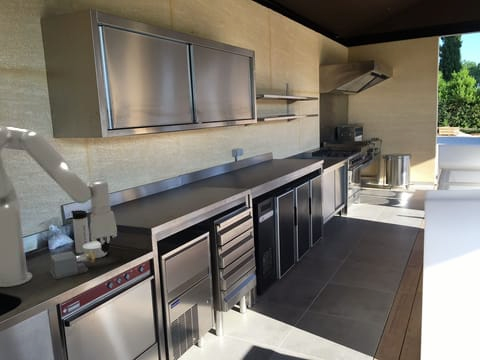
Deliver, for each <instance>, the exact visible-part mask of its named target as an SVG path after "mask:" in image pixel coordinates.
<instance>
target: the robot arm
mask: <svg viewBox="0 0 480 360" xmlns="http://www.w3.org/2000/svg"><path fill="white" fill-rule="evenodd" d="M4 149H10V150H17V151H25V152H26V153H27V154H28V155H29V156H30V157H31V158H32V159H33V160H34V161H35V162H36V163H37V165H39V166H40V167H39V168H41V169H42V170H43V171H44V172H45V173H46V174H47V176H48V177H49V178H51V179H52V180H53V181H54V182H56V184H57V185H58V187H60V188H61V189H62V190H63V191H64V192H65V193H66V195H68V197H69V198H71V200H73V202H75V203H76V204H77V203H78V204H85V203H87V202H88V201H90V208H88V209H87V213H91V214H90V218H89V234H90V240H91V242H92V241H98V242H100V243H101V250H102V251H103V252H104V253H106V252H107V253H109V250H110V242H111V240H112V239H113V238H116V237H117V236H118V234H117V233H118V227H117V223H116V222H117V221H116V217H115V214H114V211H113V210H111V209H112V208H111V198H110V191H109V190H110V189H109V183H108V181H107V180H104V179H99V180H98V179H97V180H93V181H83V180H82V179H81V178H80V177H79V175H78V174H76V172H75V171H74V170H73V168H71V166H70V165H69V163H68V162H67V161H66V159H65V158H64V157H63V156H62V155H61V154H60V153H59V152H58V150H56V149H55V148H54V146H53V145H52V144H51V143H50V142H49V141H48V140H47V139H46V138H45V136H44V135H43V134H42V133H40V131H37V130H32V129H24V128H17V127H11V126H5V125H0V288H9V287H10V288H11V287H15V286H19V285H22V284H25V283H27V282H29V281H30V280H31V279H32V278H33V274H32V273H31V272H29V271H28V267H27V261H26V260H27V259H26V252H25V245H24V243H25V242H24V237H23V236H24V235H23V229H22V222H21V221H22V220H21V206H20V203H19V199H18V196H17V192H16V190H15V186H14V183H13V181H12V178H11V176H10V175H9V174H7V171H6V169H5V164H4V161H3V158H2V150H4ZM104 241H105V242H104Z"/></svg>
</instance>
